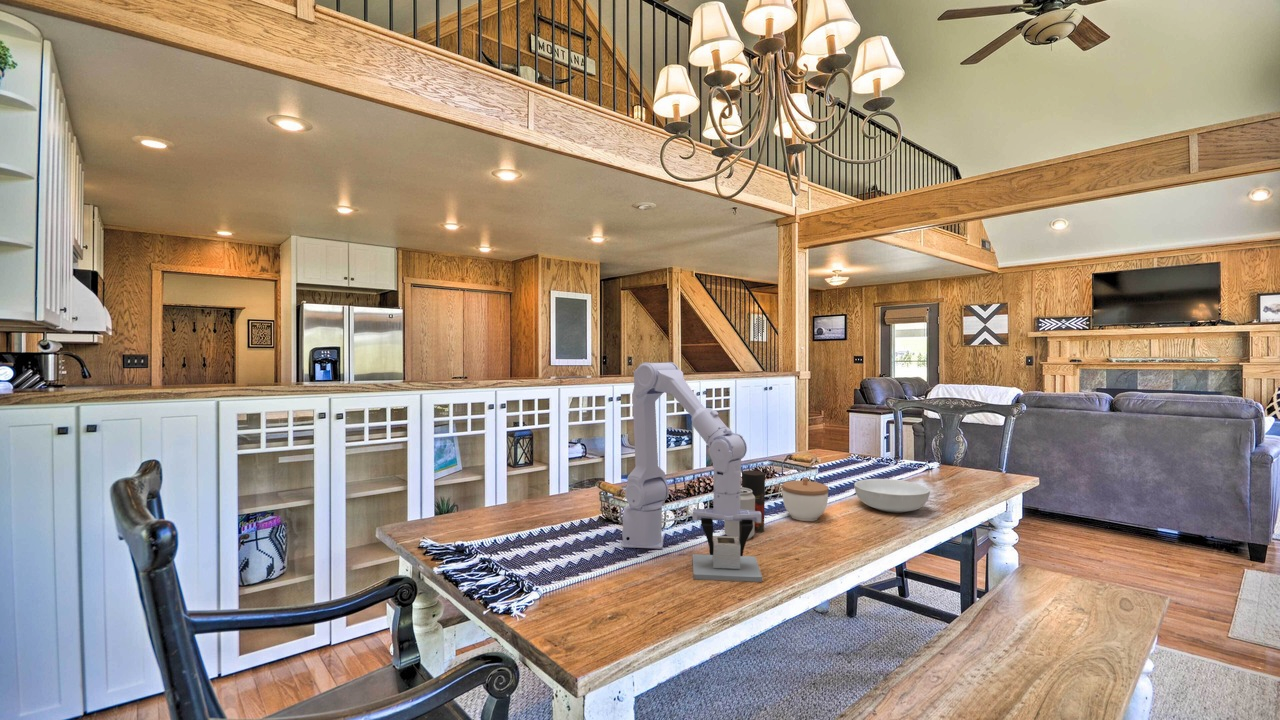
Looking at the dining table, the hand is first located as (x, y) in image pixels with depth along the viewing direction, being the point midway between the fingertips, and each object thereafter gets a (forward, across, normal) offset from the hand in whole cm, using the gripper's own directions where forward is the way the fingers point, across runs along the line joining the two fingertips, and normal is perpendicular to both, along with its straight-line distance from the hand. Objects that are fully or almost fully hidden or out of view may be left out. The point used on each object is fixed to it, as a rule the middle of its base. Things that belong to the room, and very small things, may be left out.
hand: (725, 554), depth 128 cm
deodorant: (+4, +9, +29) cm, 31 cm away
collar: (+2, 0, 0) cm, 2 cm away
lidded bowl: (+4, +25, +42) cm, 49 cm away
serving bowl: (+4, +53, +55) cm, 76 cm away
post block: (+3, 0, 0) cm, 3 cm away
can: (+4, +5, +23) cm, 24 cm away
